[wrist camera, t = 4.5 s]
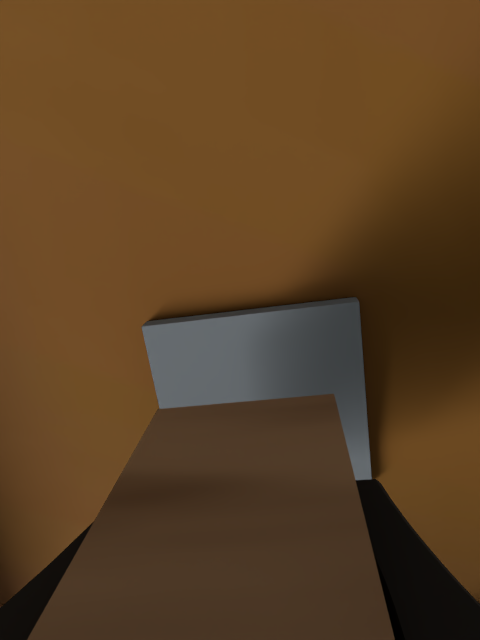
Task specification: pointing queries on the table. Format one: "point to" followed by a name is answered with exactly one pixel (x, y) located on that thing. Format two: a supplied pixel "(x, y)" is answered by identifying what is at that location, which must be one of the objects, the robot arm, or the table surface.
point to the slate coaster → (266, 361)
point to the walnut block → (228, 534)
